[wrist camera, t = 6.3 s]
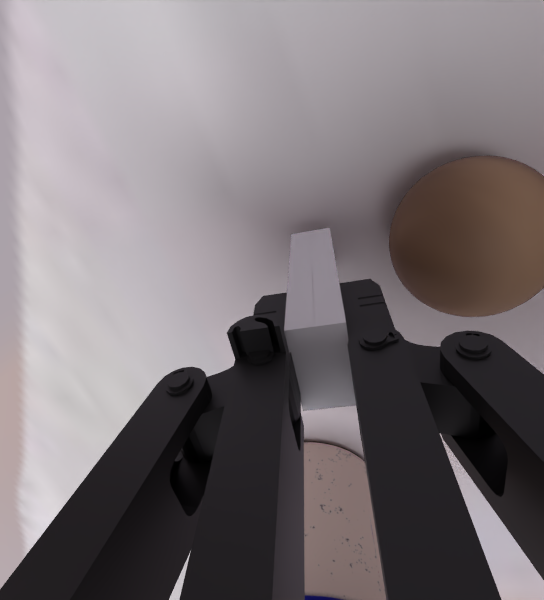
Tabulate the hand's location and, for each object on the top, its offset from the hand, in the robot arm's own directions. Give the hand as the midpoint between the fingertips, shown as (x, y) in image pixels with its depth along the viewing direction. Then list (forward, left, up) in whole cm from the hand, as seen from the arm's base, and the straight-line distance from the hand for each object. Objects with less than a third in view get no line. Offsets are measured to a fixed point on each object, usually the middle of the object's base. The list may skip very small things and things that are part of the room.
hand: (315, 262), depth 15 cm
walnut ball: (-6, 0, +1) cm, 6 cm away
